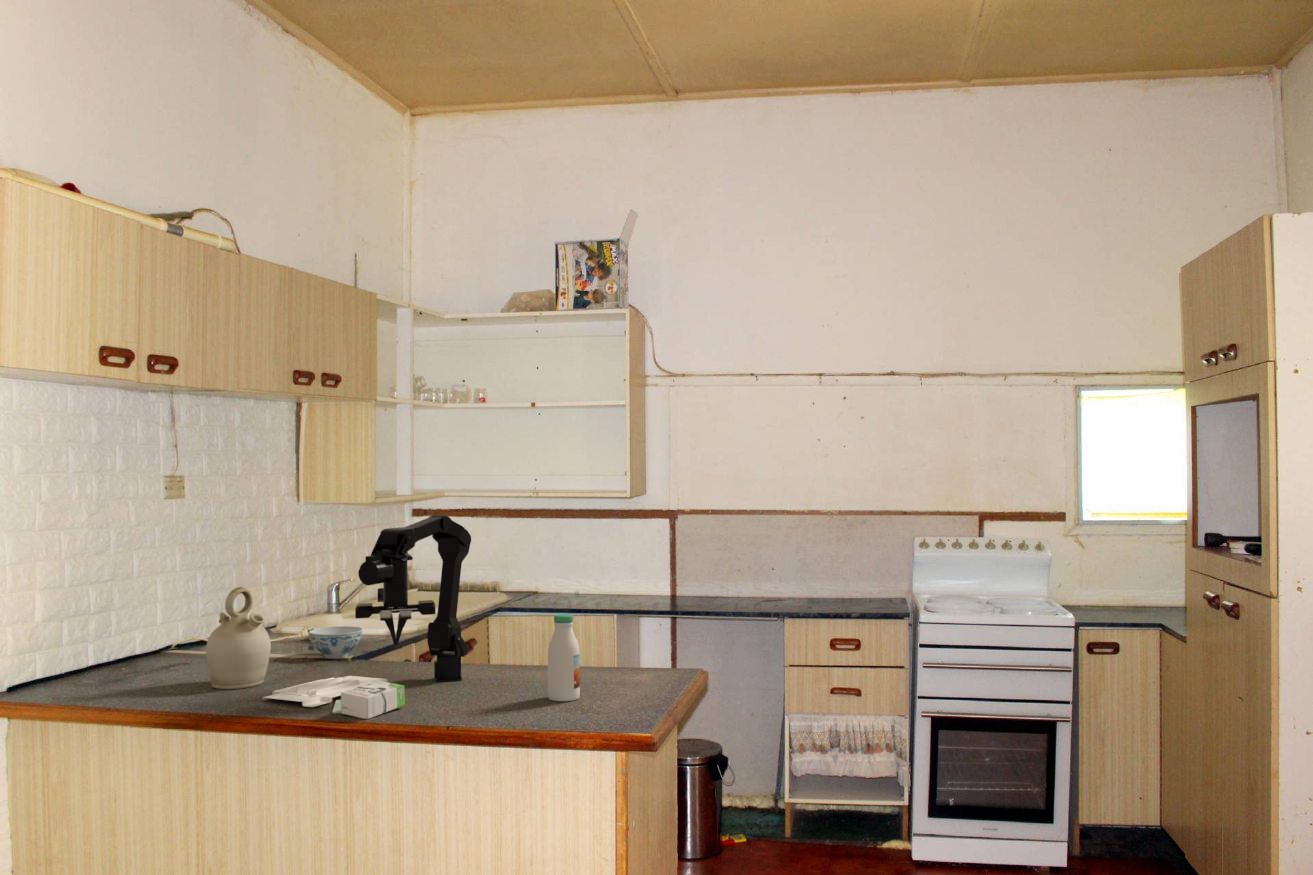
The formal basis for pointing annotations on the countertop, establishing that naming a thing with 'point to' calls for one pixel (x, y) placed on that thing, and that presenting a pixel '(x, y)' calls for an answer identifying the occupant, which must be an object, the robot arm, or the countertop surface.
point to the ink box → (372, 699)
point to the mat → (337, 707)
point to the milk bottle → (563, 661)
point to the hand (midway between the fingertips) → (395, 644)
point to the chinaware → (335, 640)
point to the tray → (321, 690)
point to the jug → (238, 646)
